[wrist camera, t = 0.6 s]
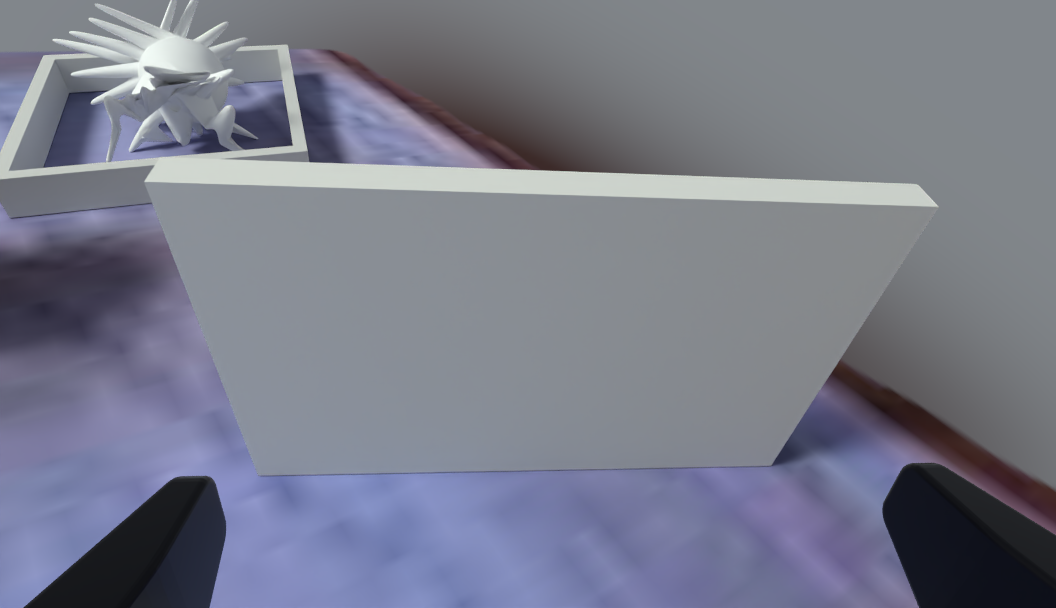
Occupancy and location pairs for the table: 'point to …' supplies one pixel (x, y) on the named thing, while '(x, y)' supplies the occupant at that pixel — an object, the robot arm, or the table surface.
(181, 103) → the spiky ball
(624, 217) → the board
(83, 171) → the white flat square tray
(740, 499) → the table surface
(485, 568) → the table surface
